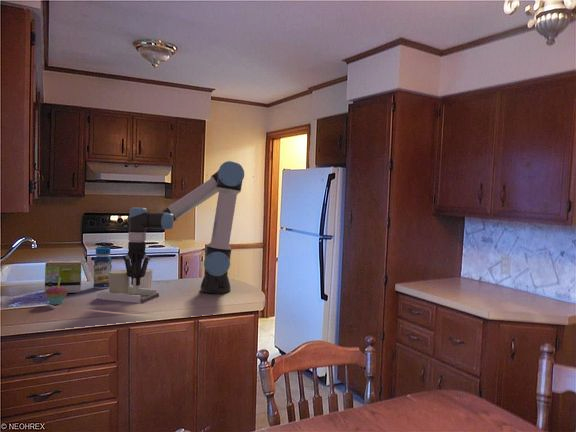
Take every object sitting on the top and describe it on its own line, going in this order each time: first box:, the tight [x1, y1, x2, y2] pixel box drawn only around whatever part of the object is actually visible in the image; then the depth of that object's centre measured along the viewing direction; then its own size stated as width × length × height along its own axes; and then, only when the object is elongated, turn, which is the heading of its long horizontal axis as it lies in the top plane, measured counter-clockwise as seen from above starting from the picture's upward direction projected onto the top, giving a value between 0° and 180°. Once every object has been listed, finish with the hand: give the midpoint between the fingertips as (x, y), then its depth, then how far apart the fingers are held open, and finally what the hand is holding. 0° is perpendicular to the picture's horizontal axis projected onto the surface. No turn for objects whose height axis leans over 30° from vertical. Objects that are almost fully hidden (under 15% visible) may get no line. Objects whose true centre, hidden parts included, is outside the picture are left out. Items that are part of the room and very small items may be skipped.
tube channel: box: [96, 286, 157, 304], centre depth 197 cm, size 21×15×3 cm
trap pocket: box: [140, 292, 160, 304], centre depth 195 cm, size 6×14×2 cm, turn 168°
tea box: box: [44, 259, 83, 294], centre depth 203 cm, size 15×10×15 cm, turn 114°
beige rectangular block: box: [108, 269, 131, 295], centre depth 197 cm, size 9×9×12 cm
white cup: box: [139, 268, 154, 289], centre depth 212 cm, size 8×8×10 cm
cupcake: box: [44, 277, 68, 306], centre depth 181 cm, size 9×8×12 cm
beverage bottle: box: [93, 246, 113, 290], centre depth 215 cm, size 8×8×20 cm
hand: (135, 292), depth 196 cm, fingers closed
